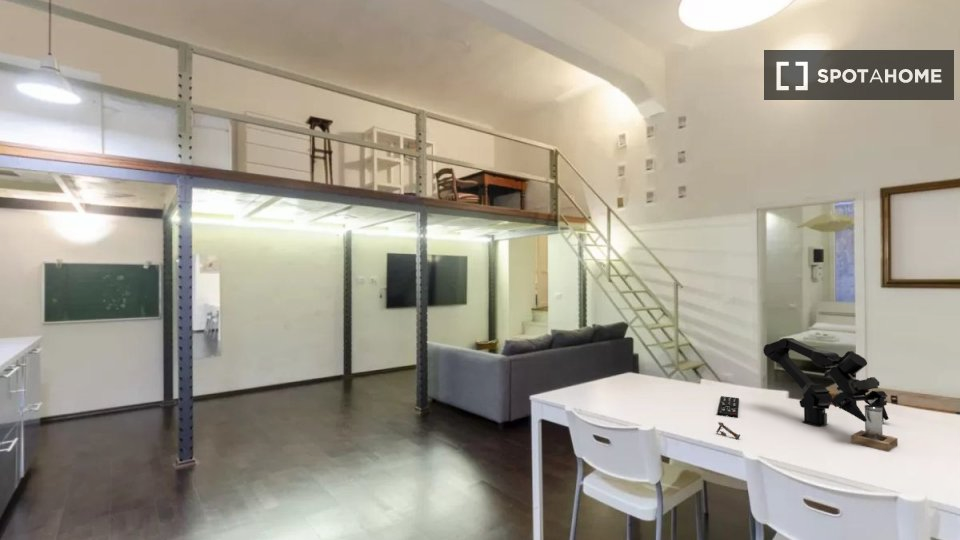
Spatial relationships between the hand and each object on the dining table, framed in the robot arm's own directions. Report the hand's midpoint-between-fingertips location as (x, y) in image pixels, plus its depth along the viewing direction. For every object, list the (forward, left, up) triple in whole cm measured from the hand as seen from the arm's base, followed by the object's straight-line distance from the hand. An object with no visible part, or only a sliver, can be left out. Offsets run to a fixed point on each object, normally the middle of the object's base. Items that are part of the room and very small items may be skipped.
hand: (876, 420), depth 156 cm
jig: (-1, 0, -9) cm, 9 cm away
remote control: (-53, +3, -9) cm, 54 cm away
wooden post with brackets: (-33, -34, -9) cm, 49 cm away
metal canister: (-1, 0, -9) cm, 9 cm away
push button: (-8, +31, -9) cm, 34 cm away
